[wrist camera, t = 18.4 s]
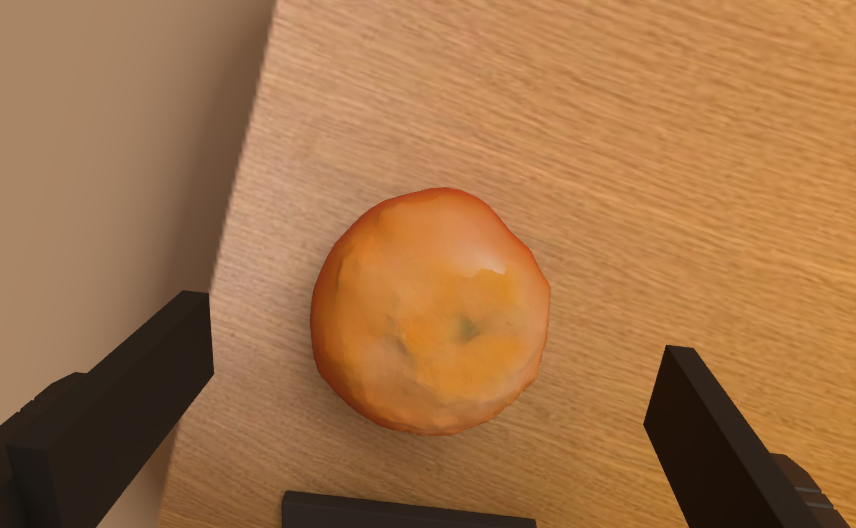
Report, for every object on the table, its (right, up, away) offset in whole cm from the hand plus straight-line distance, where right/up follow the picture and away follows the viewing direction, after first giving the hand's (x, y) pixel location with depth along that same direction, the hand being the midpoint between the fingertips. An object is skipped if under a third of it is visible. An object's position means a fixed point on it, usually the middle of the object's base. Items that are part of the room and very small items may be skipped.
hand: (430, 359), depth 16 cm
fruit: (0, +2, +6) cm, 7 cm away
